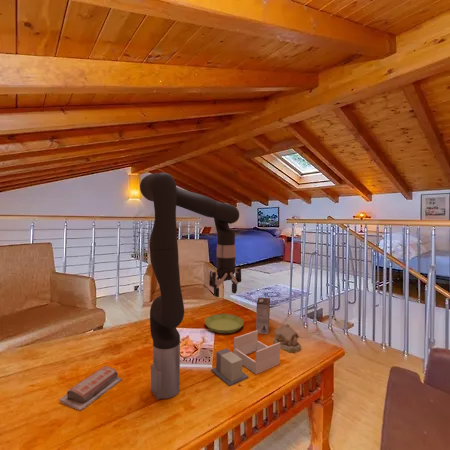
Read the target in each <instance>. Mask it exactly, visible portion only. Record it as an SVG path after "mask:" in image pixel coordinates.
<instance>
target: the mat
mask: <svg viewBox="0 0 450 450" xmlns="http://www.w3.org/2000/svg"><path fill="white" fill-rule="evenodd" d="M210 371H211V372H212V373H213V374H214V375H215V376H217V378H219V379H220V380H221V381H223V382H224V383H225V385H227V386H228V387H231V386H233V385H236V384H238V383H240V382H242V381H244V380H246V379H247V380H248V379H249V376H248V375H247V374H246V373H245V372H243V371H242V377H241V378H239V379H237V380H235V381H232V382H231V381H230V380H229V379H228V378H226V377H225V376H224V375H223V374H222V373H220V372H219V371H218V370H217V369H216V366H215V367H214V368H210Z"/></svg>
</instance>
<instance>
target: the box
mask: <svg viewBox="0 0 450 450" xmlns="http://www.w3.org/2000/svg"><path fill="white" fill-rule="evenodd" d="M215 354H216V355H215V356H216V357H215V361H216V363H215V364H216V366H215V367H216V369H217V370H218V371H219V372H220V373H222V374H223V375H224V376H225V377H226V378H228V379H229V380H230V381H231V382H232V381H235V380H237V379H239V378H241V377H242V372H243V365H242V360H243V359H241V358H240V357H238V356H237V355H236V354H234V351H233V352H232V351H231V350H230V349H228V347H226V348H224V349H221V350H218V351H216V353H215Z"/></svg>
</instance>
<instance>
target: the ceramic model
mask: <svg viewBox="0 0 450 450" xmlns="http://www.w3.org/2000/svg"><path fill="white" fill-rule="evenodd" d="M274 334H275V337H274V339H273V344H276V343H279V342H280V350H282V351H285V352H288V353H296V352H299V351H301V350H302V345H301V344H300V343H299V342H298V338H300V336H299V334H298V333H297V332H296V330H294V328H293V327H291V326H290V324H288V323H287V324H285V323H281V325H280V326H278V327H276V330H275V331H274Z"/></svg>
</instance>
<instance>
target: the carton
mask: <svg viewBox="0 0 450 450" xmlns="http://www.w3.org/2000/svg"><path fill="white" fill-rule="evenodd" d="M258 336H259V333H258V331H257V330H256V329H255V330H253V331H250V332H247V333H245V334H241V335H238V336H235V337H233V353H234V354H236V355H237V356H238V357H240V358H241V359H243V360H242V366H244V367H245V368H246V369H248V370H249V371H250V372H252V373H253V374H255V375H258V374H260V373H263V372H265V371H267V370H269V369H271V368H273V367H276V366H277V365H280V363H281V348H280V342H279V343H276V344H274V343H273V344H271V345H269V346H268V345H266V344H265V343H264V342H261V341H259V340H258V339H259V337H258ZM251 353H255V360H254V359H253V358H251V357H249V356H248V355H249V354H251Z"/></svg>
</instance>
